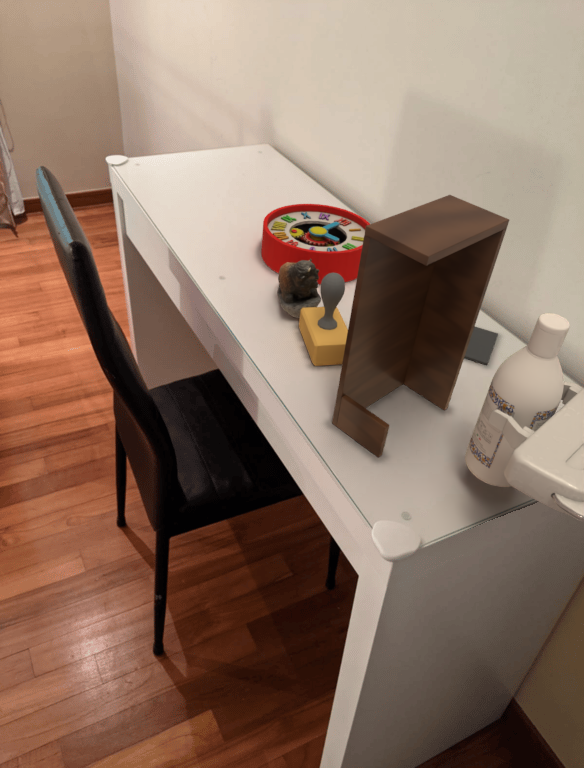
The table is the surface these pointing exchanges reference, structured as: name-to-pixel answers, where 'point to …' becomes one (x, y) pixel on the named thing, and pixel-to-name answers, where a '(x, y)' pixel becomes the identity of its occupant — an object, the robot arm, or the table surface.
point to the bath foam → (519, 397)
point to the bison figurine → (298, 286)
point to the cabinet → (414, 308)
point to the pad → (481, 345)
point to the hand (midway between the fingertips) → (514, 396)
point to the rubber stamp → (325, 324)
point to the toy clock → (314, 238)
